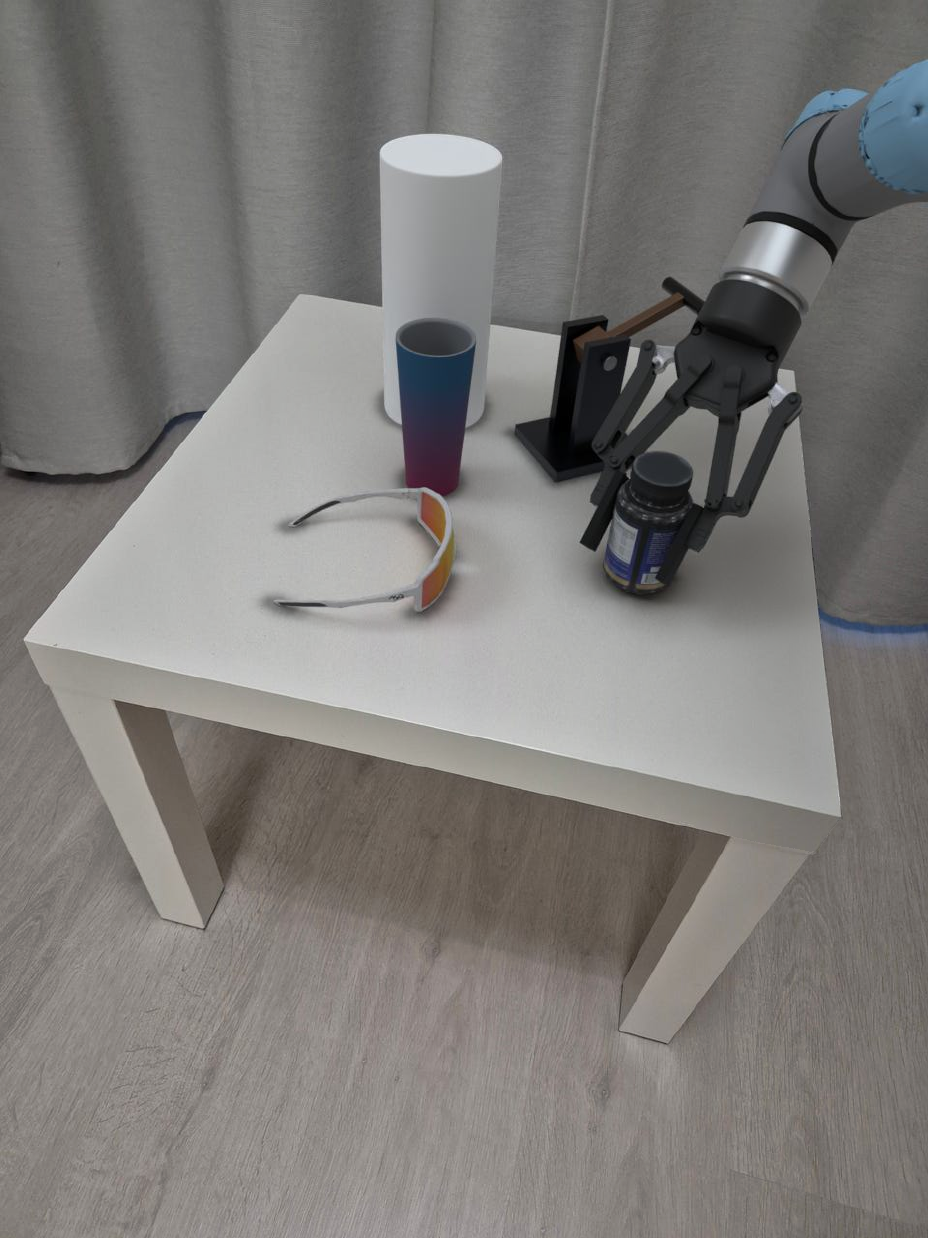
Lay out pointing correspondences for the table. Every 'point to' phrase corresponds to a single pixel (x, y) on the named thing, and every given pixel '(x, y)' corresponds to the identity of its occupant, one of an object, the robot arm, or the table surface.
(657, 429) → the robot arm
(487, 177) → the tall pillar cylinder
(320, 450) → the table surface
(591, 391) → the bracket
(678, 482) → the pill bottle
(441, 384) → the cup
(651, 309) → the lever
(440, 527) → the sunglasses
